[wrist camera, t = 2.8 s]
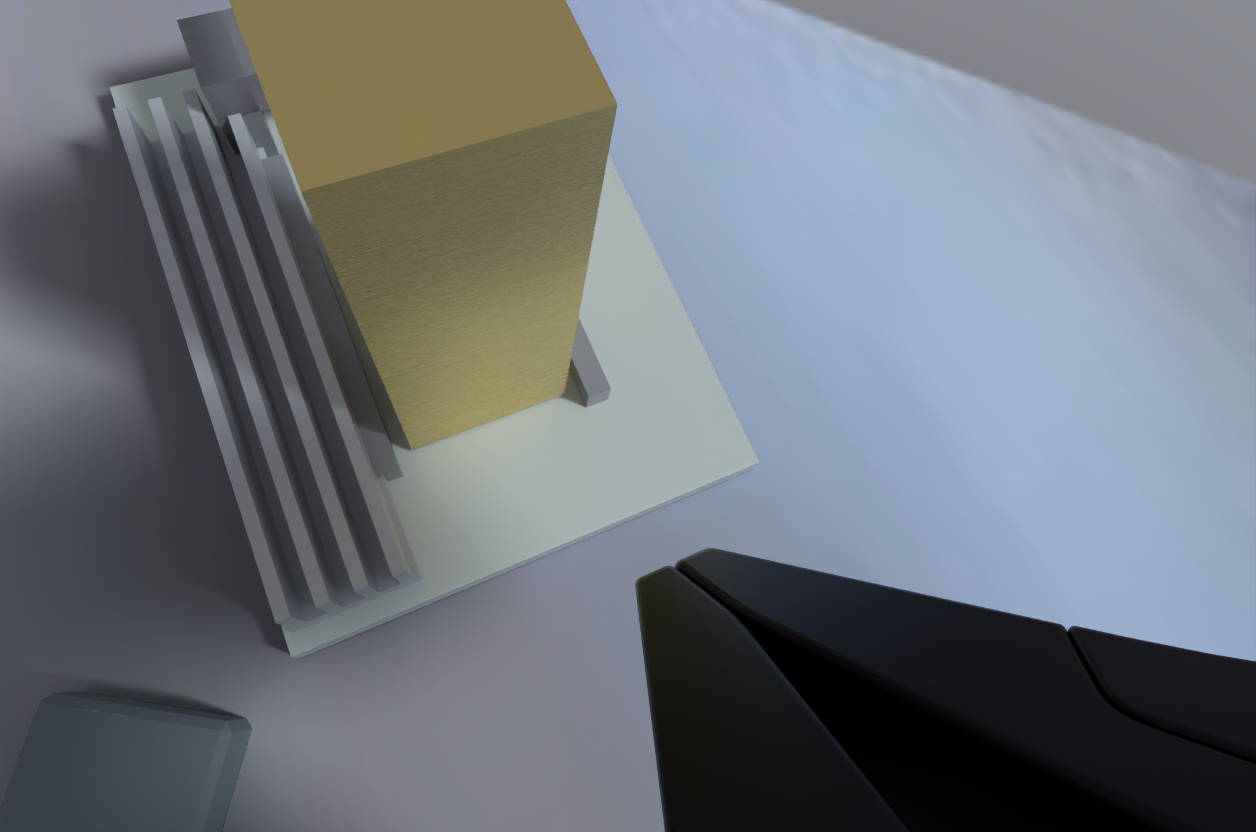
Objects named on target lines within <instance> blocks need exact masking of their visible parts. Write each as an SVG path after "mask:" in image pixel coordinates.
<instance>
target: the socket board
mask: <svg viewBox="0 0 1256 832" xmlns="http://www.w3.org/2000/svg"><path fill="white" fill-rule="evenodd" d="M177 22H178V25H179V28H180V30H181V33H182V36H183V39H184V42H185V45H186V48H187V50H188V53H189V56H190V59H191V62H192V65H193V67H194V68H191V69H187V70H182V71H178V72H174V73H169V74H165V75H161V76H156V77H152V78H148V79H144V80H139V81H135V82H131V83H126V84H122V85H118V86H113V87H110V90H111V93H112V96H113V99H114V103H115V106H116V108H112V109H113V112H114V115H115V118H116V121H117V125H118V128H119V131H120V134H121V137H122V140H123V144H124V147H125V150H126V153H127V156H128V159H129V163H130V166H131V169H132V172H133V175H134V178H135V181H136V185H137V188H138V191H139V194H140V197H141V200H142V204H143V207H144V210H145V213H146V216H147V219H148V222H149V226H150V229H151V232H152V235H153V238H154V241H155V245H156V248H157V251H158V254H159V257H160V260H161V263H162V267H163V270H164V273H165V276H166V279H167V282H168V286H169V289H170V292H171V295H172V298H173V301H174V305H175V308H176V311H177V314H178V317H179V320H180V323H181V327H182V330H183V333H184V336H185V339H186V342H187V346H188V349H189V352H190V355H191V358H192V361H193V364H194V368H195V371H196V374H197V377H198V380H199V383H200V387H201V390H202V393H203V396H204V399H205V402H206V405H207V409H208V412H209V415H210V418H211V421H212V424H213V428H214V431H215V434H216V437H217V440H218V443H219V447H220V450H221V453H222V456H223V459H224V462H225V465H226V469H227V472H228V475H229V478H230V481H231V484H232V488H233V491H234V494H235V497H236V500H237V503H238V506H239V510H240V513H241V516H242V519H243V522H244V525H245V529H246V532H247V535H248V538H249V541H250V544H251V547H252V551H253V554H254V557H255V560H256V563H257V566H258V570H259V573H260V576H261V579H262V582H263V585H264V588H265V592H266V595H267V598H268V601H269V604H270V607H271V611H272V614H273V617H274V620H275V623H277V624H281V627H282V630H283V633H284V637H285V640H286V643H287V646H288V649H289V652H290V655H291V657H294V658H302V657H304V656H306V655H309V654H311V653H314V652H316V651H318V650H321V649H323V648H326V647H328V646H330V645H333V644H335V643H338V642H340V641H342V640H345V639H347V638H350V637H352V636H354V635H357V634H359V633H362V632H364V631H366V630H369V629H371V628H374V627H376V626H378V625H381V624H383V623H386V622H388V621H390V620H393V619H395V618H398V617H400V616H402V615H405V614H407V613H409V612H412V611H414V610H417V609H419V608H421V607H424V606H426V605H429V604H431V603H433V602H436V601H438V600H441V599H443V598H445V597H448V596H450V595H453V594H455V593H457V592H460V591H462V590H465V589H467V588H469V587H472V586H474V585H477V584H479V583H481V582H484V581H486V580H489V579H491V578H493V577H496V576H498V575H501V574H503V573H505V572H508V571H510V570H512V569H515V568H517V567H520V566H522V565H524V564H527V563H529V562H532V561H534V560H536V559H539V558H541V557H544V556H546V555H548V554H551V553H553V552H556V551H558V550H560V549H563V548H565V547H568V546H570V545H572V544H575V543H577V542H580V541H582V540H584V539H587V538H589V537H592V536H594V535H596V534H599V533H601V532H603V531H606V530H608V529H611V528H613V527H615V526H618V525H620V524H623V523H625V522H627V521H630V520H632V519H635V518H637V517H639V516H642V515H644V514H647V513H649V512H651V511H654V510H656V509H659V508H661V507H663V506H666V505H668V504H671V503H673V502H675V501H678V500H680V499H683V498H685V497H687V496H690V495H692V494H695V493H697V492H699V491H702V490H704V489H706V488H709V487H711V486H714V485H716V484H718V483H721V482H723V481H726V480H728V479H730V478H733V477H735V476H738V475H740V474H742V473H745V472H747V471H750V470H751V469H753V468H754V467H755V466H756V465H757V464H758V463H759V460H758V458H757V456H756V454H755V452H754V450H753V448H752V446H751V444H750V442H749V440H748V438H747V436H746V434H745V432H744V430H743V427H742V425H741V423H740V421H739V419H738V417H737V415H736V413H735V411H734V409H733V407H732V405H731V403H730V401H729V399H728V397H727V395H726V393H725V391H724V389H723V387H722V385H721V383H720V380H719V378H718V376H717V374H716V372H715V370H714V368H713V366H712V364H711V362H710V360H709V358H708V356H707V354H706V352H705V350H704V348H703V346H702V344H701V342H700V340H699V338H698V336H697V334H696V331H695V329H694V327H693V325H692V323H691V321H690V319H689V317H688V315H687V313H686V311H685V309H684V307H683V305H682V303H681V301H680V299H679V297H678V295H677V293H676V291H675V289H674V287H673V284H672V282H671V280H670V278H669V276H668V274H667V272H666V270H665V268H664V266H663V264H662V262H661V260H660V258H659V256H658V254H657V252H656V250H655V248H654V246H653V244H652V242H651V240H650V237H649V235H648V233H647V231H646V229H645V227H644V225H643V223H642V221H641V219H640V217H639V215H638V213H637V211H636V209H635V207H634V205H633V203H632V201H631V199H630V197H629V195H628V193H627V191H626V188H625V186H624V184H623V182H622V180H621V178H620V176H619V174H618V172H617V170H616V168H615V166H614V164H613V162H612V160H611V158H610V156H609V154H608V158H607V163H606V169H605V174H604V180H603V185H602V191H601V196H600V202H599V207H598V213H597V218H596V224H595V229H594V235H593V240H592V246H591V251H590V257H589V262H588V268H587V273H586V279H585V284H584V290H583V295H582V301H581V306H580V312H579V317H578V323H577V328H576V334H575V339H574V345H573V350H572V355H571V361H570V366H569V372H568V377H567V383H566V388H565V394H564V395H562V396H559V397H556V398H554V399H551V400H548V401H546V402H543V403H540V404H537V405H535V406H532V407H529V408H526V409H524V410H521V411H518V412H516V413H513V414H510V415H507V416H505V417H502V418H499V419H497V420H494V421H491V422H488V423H486V424H483V425H480V426H478V427H475V428H472V429H469V430H467V431H464V432H461V433H458V434H456V435H453V436H450V437H448V438H445V439H442V440H439V441H437V442H434V443H431V444H429V445H426V446H423V447H420V448H418V449H415V450H412V449H411V447H410V445H409V442H408V440H407V438H406V435H405V433H404V431H403V428H402V426H401V424H400V421H399V419H398V417H397V414H396V412H395V410H394V407H393V405H392V403H391V400H390V398H389V396H388V393H387V391H386V389H385V386H384V384H383V382H382V379H381V377H380V375H379V372H378V370H377V368H376V365H375V363H374V361H373V358H372V356H371V354H370V352H369V349H368V347H367V345H366V342H365V340H364V338H363V335H362V333H361V331H360V328H359V326H358V324H357V321H356V319H355V317H354V314H353V312H352V310H351V307H350V305H349V303H348V300H347V298H346V296H345V293H344V291H343V289H342V286H341V284H340V282H339V279H338V277H337V275H336V272H335V270H334V268H333V265H332V263H331V261H330V258H329V256H328V254H327V251H326V249H325V247H324V244H323V242H322V240H321V237H320V235H319V233H318V230H317V228H316V226H315V223H314V221H313V219H312V216H311V214H310V212H309V209H308V207H307V205H306V202H305V200H304V198H303V195H302V193H301V191H300V188H299V185H298V183H297V180H296V177H295V175H294V172H293V169H292V167H291V164H290V161H289V159H288V156H287V153H286V151H285V148H284V145H283V143H282V140H281V137H280V135H279V132H278V129H277V127H276V124H275V121H274V119H273V116H272V113H271V111H270V108H269V105H268V103H267V100H266V97H265V94H264V92H263V89H262V86H261V84H260V81H259V78H258V76H257V73H256V70H255V68H254V65H253V62H252V60H251V57H250V54H249V52H248V49H247V46H246V44H245V41H244V38H243V36H242V33H241V30H240V28H239V25H238V22H237V20H236V17H235V14H234V12H233V9H232V8H231V9H226V10H222V11H217V12H212V13H208V14H203V15H199V16H194V17H189V18H185V19H180V20H177Z"/></svg>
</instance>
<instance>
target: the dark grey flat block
mask: <svg viewBox="0 0 1256 832" xmlns="http://www.w3.org/2000/svg"><path fill="white" fill-rule="evenodd" d="M251 730H252V728H251V726H250V724H249V722H248V721H247V719H246V718H242V717H235V716H229V715H223V714H217V713H211V712H204V711H198V710H192V709H186V708H179V707H173V706H167V705H161V704H154V703H148V702H142V701H136V700H130V699H123V698H117V697H111V696H105V695H98V694H92V693H86V692H69V693H53V694H52V695H50V696H49V697H47V698H45V699H44V700H42V701H41V702H40V705H39V707H38V710H37V713H36V715H35V718H34V721H33V723H32V726H31V729H30V731H29V734H28V736H27V739H26V742H25V744H24V747H23V750H22V752H21V755H20V758H19V760H18V763H17V766H16V768H15V771H14V773H13V776H12V779H11V781H10V784H9V787H8V789H7V792H6V795H5V797H4V800H3V803H2V805H1V808H0V832H222V829H223V826H224V822H225V819H226V815H227V812H228V809H229V805H230V802H231V798H232V795H233V792H234V788H235V785H236V781H237V778H238V774H239V771H240V768H241V764H242V761H243V757H244V754H245V751H246V747H247V744H248V740H249V737H250V733H251Z"/></svg>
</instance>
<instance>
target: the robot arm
mask: <svg viewBox="0 0 1256 832" xmlns="http://www.w3.org/2000/svg"><path fill="white" fill-rule="evenodd" d="M635 588H636V597H637V605H638V613H639V621H640V630H641V638H642V646H643V654H644V663H645V671H646V679H647V687H648V696H649V704H650V712H651V720H652V729H653V737H654V745H655V753H656V762H657V770H658V778H659V786H660V795H661V803H662V811H663V819H664V828H665V832H1256V661H1250V660H1244V659H1238V658H1232V657H1226V656H1220V655H1214V654H1209V653H1204V652H1199V651H1194V650H1189V649H1184V648H1179V647H1174V646H1169V645H1164V644H1159V643H1154V642H1149V641H1144V640H1139V639H1134V638H1129V637H1124V636H1119V635H1115V634H1110V633H1105V632H1101V631H1096V630H1092V629H1087V628H1083V627H1078V626H1072V627H1070V628H1069V629H1068V632H1067V630H1066V629H1065V627H1064V626H1063V625H1061V624H1057V623H1053V622H1048V621H1043V620H1039V619H1034V618H1030V617H1025V616H1021V615H1016V614H1011V613H1007V612H1002V611H998V610H993V609H989V608H984V607H980V606H975V605H970V604H966V603H961V602H957V601H952V600H948V599H943V598H938V597H934V596H929V595H925V594H920V593H916V592H911V591H907V590H902V589H897V588H893V587H888V586H884V585H879V584H875V583H870V582H865V581H861V580H856V579H852V578H847V577H843V576H838V575H833V574H829V573H824V572H820V571H815V570H811V569H806V568H802V567H797V566H792V565H788V564H783V563H779V562H774V561H770V560H765V559H760V558H756V557H751V556H747V555H742V554H738V553H733V552H729V551H724V550H719V549H715V548H707V549H704V550H701V551H699V552H697V553H695V554H692V555H690V556H688V557H686V558H683V559H681V560H679V561H678V562H677V563H676V565H675V567H673V566H665V567H663V568H661V569H658V570H656V571H654V572H651V573H649V574H647V575H645V576H642V577H640V578H639V579H638V580H637V581H636V583H635Z"/></svg>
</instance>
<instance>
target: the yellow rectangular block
mask: <svg viewBox="0 0 1256 832" xmlns="http://www.w3.org/2000/svg"><path fill="white" fill-rule="evenodd" d="M229 1H230V4H231V6H232V9H233V12H234V14H235V17H236V20H237V22H238V25H239V28H240V30H241V33H242V36H243V38H244V41H245V44H246V46H247V49H248V52H249V54H250V57H251V60H252V62H253V65H254V68H255V70H256V73H257V76H258V78H259V81H260V84H261V86H262V89H263V92H264V94H265V97H266V100H267V103H268V105H269V108H270V111H271V113H272V116H273V119H274V121H275V124H276V127H277V129H278V132H279V135H280V137H281V140H282V143H283V145H284V148H285V151H286V153H287V156H288V159H289V161H290V164H291V167H292V169H293V172H294V175H295V177H296V180H297V183H298V185H299V188H300V191H301V193H302V195H303V198H304V200H305V202H306V205H307V207H308V209H309V212H310V214H311V216H312V219H313V221H314V223H315V226H316V228H317V230H318V233H319V235H320V237H321V240H322V242H323V244H324V247H325V249H326V251H327V254H328V256H329V258H330V261H331V263H332V265H333V268H334V270H335V272H336V275H337V277H338V279H339V282H340V284H341V286H342V289H343V291H344V293H345V296H346V298H347V300H348V303H349V305H350V307H351V310H352V312H353V314H354V317H355V319H356V321H357V324H358V326H359V328H360V331H361V333H362V335H363V338H364V340H365V342H366V345H367V347H368V349H369V352H370V354H371V356H372V358H373V361H374V363H375V365H376V368H377V370H378V372H379V375H380V377H381V379H382V382H383V384H384V386H385V389H386V391H387V393H388V396H389V398H390V400H391V403H392V405H393V407H394V410H395V412H396V414H397V417H398V419H399V421H400V424H401V426H402V428H403V431H404V433H405V435H406V438H407V440H408V442H409V445H410V447H411V449H412V450H415V449H418V448H420V447H423V446H426V445H429V444H431V443H434V442H437V441H439V440H442V439H445V438H448V437H450V436H453V435H456V434H458V433H461V432H464V431H467V430H469V429H472V428H475V427H478V426H480V425H483V424H486V423H488V422H491V421H494V420H497V419H499V418H502V417H505V416H507V415H510V414H513V413H516V412H518V411H521V410H524V409H526V408H529V407H532V406H535V405H537V404H540V403H543V402H546V401H548V400H551V399H554V398H556V397H559V396H562V395H564V394H565V388H566V383H567V377H568V372H569V366H570V361H571V355H572V350H573V345H574V339H575V334H576V328H577V323H578V317H579V312H580V306H581V301H582V295H583V290H584V284H585V279H586V273H587V268H588V262H589V257H590V251H591V246H592V240H593V235H594V229H595V224H596V218H597V213H598V207H599V202H600V196H601V191H602V185H603V180H604V174H605V169H606V163H607V158H608V152H609V147H610V142H611V136H612V131H613V125H614V120H615V114H616V109H617V102H616V100H615V98H614V96H613V94H612V92H611V90H610V88H609V86H608V84H607V82H606V80H605V78H604V76H603V74H602V72H601V70H600V68H599V66H598V64H597V62H596V60H595V58H594V56H593V54H592V53H591V51H590V49H589V47H588V45H587V43H586V41H585V39H584V37H583V35H582V33H581V31H580V29H579V27H578V25H577V23H576V21H575V19H574V17H573V15H572V13H571V11H570V9H569V7H568V5H567V3H566V1H565V0H229Z"/></svg>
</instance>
